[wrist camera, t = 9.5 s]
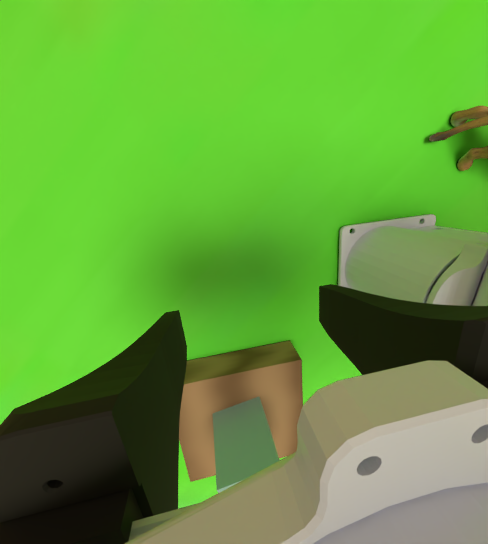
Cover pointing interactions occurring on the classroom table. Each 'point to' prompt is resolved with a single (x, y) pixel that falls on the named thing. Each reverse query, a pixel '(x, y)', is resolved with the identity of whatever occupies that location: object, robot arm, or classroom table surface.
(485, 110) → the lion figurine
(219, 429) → the teal block
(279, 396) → the walnut base
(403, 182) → the classroom table surface
